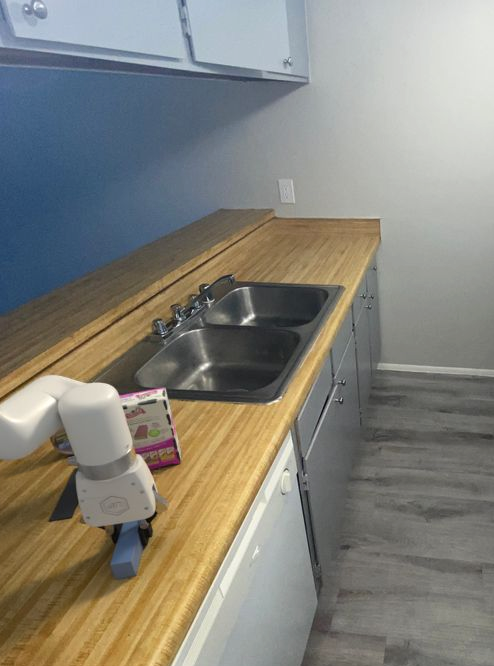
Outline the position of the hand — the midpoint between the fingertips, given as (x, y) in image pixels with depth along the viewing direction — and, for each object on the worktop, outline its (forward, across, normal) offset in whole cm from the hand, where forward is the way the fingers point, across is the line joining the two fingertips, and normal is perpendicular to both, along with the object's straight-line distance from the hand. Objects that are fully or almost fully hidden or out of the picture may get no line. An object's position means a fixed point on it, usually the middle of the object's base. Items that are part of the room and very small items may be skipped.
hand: (134, 540), depth 81 cm
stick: (0, 0, 0) cm, 0 cm away
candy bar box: (+1, -1, +21) cm, 21 cm away
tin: (+1, -14, +31) cm, 34 cm away
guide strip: (0, -14, +16) cm, 21 cm away
